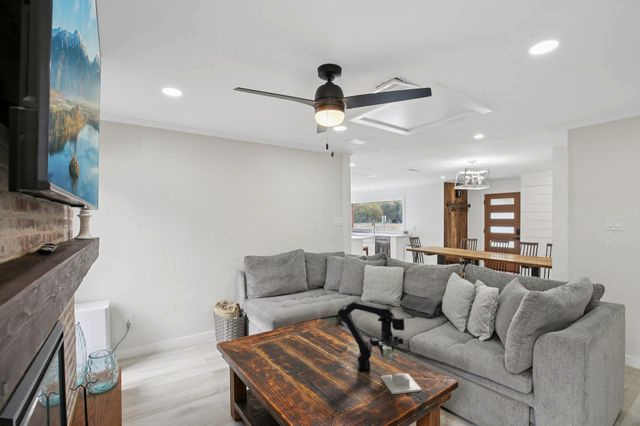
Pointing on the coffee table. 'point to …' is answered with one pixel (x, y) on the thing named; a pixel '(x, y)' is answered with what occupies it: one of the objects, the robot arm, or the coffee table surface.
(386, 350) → the sage block
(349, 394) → the coffee table surface
